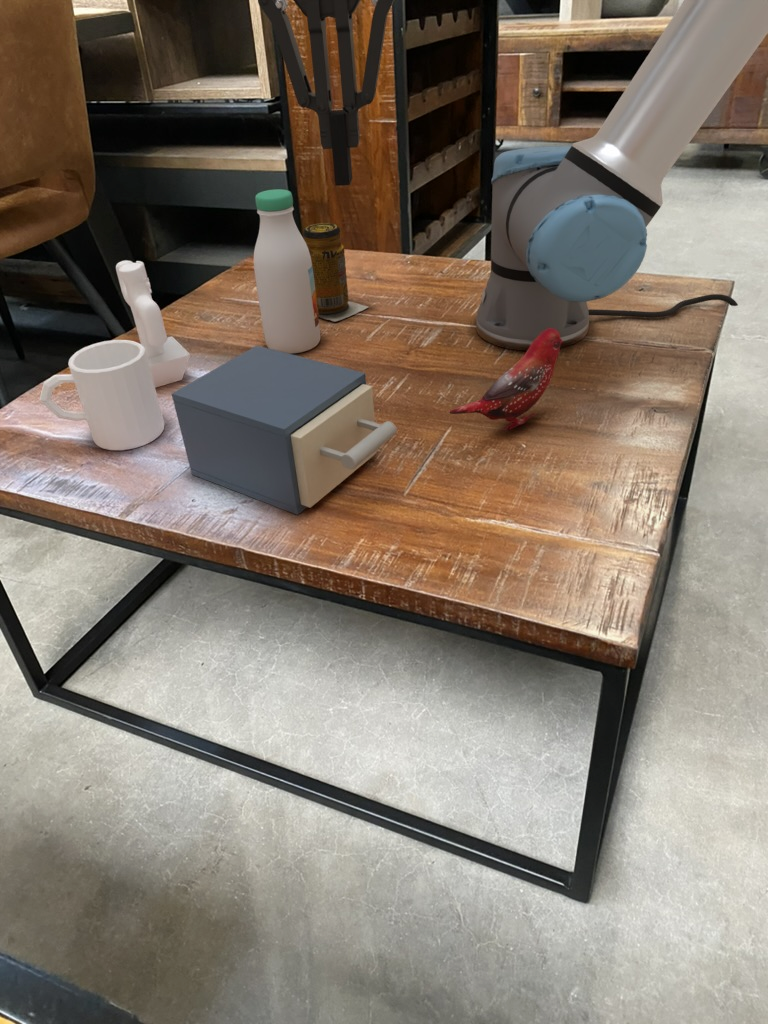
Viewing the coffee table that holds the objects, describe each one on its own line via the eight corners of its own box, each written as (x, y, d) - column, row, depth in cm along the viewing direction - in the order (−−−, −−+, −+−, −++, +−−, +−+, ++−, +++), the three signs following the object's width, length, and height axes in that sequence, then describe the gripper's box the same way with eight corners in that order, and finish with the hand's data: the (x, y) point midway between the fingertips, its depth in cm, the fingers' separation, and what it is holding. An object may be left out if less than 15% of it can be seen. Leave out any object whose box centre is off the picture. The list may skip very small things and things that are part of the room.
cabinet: (371, 454, 82) (365, 372, 77) (297, 515, 74) (284, 429, 69) (269, 422, 89) (256, 345, 84) (191, 474, 81) (171, 393, 76)
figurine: (144, 400, 96) (111, 282, 87) (123, 373, 102) (91, 261, 94) (199, 383, 99) (173, 268, 90) (175, 358, 105) (149, 248, 96)
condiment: (330, 296, 121) (322, 217, 114) (369, 308, 116) (363, 226, 109) (296, 311, 117) (285, 230, 110) (334, 323, 112) (326, 240, 105)
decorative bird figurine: (567, 407, 88) (575, 325, 82) (459, 469, 79) (460, 381, 73) (547, 399, 90) (553, 318, 84) (440, 459, 81) (438, 372, 75)
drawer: (411, 463, 79) (408, 395, 74) (345, 521, 71) (337, 450, 67) (280, 422, 87) (270, 359, 83) (209, 470, 80) (193, 404, 75)
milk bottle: (312, 356, 103) (293, 201, 91) (258, 354, 105) (232, 201, 93) (327, 333, 109) (311, 184, 97) (275, 331, 111) (254, 185, 99)
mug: (53, 438, 89) (24, 360, 83) (154, 409, 94) (133, 333, 88) (66, 469, 83) (36, 388, 78) (173, 437, 88) (152, 357, 82)
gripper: (234, -107, 63) (275, 194, 77) (392, -119, 62) (404, 188, 76) (253, -103, 69) (288, 176, 83) (397, -114, 68) (408, 170, 82)
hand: (343, 181), depth 80 cm, fingers closed
